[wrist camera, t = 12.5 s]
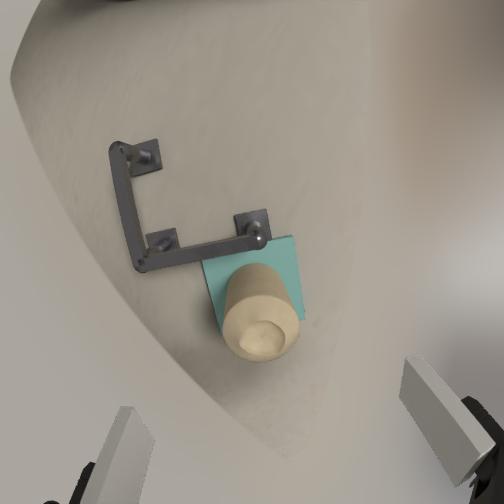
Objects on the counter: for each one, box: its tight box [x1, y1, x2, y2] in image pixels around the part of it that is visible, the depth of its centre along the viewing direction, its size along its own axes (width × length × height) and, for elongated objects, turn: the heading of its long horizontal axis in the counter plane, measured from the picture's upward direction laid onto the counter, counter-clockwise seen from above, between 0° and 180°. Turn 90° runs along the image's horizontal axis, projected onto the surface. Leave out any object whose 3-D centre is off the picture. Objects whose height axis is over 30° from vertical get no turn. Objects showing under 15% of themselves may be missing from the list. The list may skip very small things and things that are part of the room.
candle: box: [222, 263, 300, 362], centre depth 23 cm, size 6×6×10 cm
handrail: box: [108, 139, 272, 273], centre depth 22 cm, size 12×12×8 cm
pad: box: [202, 235, 305, 336], centre depth 28 cm, size 9×9×1 cm
